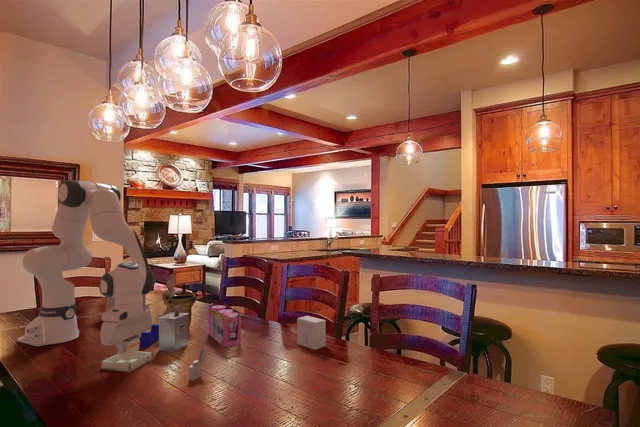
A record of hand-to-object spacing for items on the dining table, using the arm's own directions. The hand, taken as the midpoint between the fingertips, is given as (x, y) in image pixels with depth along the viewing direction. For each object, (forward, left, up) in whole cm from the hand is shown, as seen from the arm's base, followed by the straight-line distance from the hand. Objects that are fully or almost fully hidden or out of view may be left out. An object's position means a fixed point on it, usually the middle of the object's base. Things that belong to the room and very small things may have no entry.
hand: (128, 350), depth 129 cm
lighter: (+29, -3, -5) cm, 30 cm away
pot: (-6, +39, -5) cm, 39 cm away
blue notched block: (-9, +21, -5) cm, 23 cm away
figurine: (-31, +65, -5) cm, 72 cm away
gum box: (+19, +32, -5) cm, 38 cm away
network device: (-44, +48, -5) cm, 65 cm away
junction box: (+5, +18, -5) cm, 19 cm away
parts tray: (0, 0, -5) cm, 5 cm away
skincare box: (+56, +35, -5) cm, 66 cm away
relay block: (0, 0, -3) cm, 3 cm away
